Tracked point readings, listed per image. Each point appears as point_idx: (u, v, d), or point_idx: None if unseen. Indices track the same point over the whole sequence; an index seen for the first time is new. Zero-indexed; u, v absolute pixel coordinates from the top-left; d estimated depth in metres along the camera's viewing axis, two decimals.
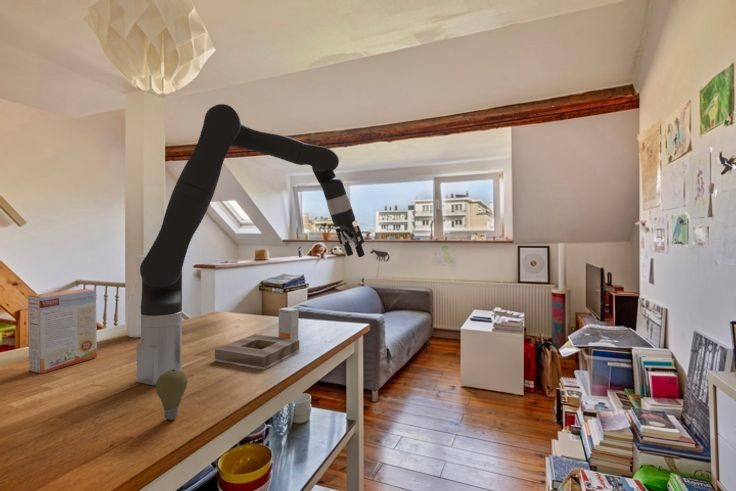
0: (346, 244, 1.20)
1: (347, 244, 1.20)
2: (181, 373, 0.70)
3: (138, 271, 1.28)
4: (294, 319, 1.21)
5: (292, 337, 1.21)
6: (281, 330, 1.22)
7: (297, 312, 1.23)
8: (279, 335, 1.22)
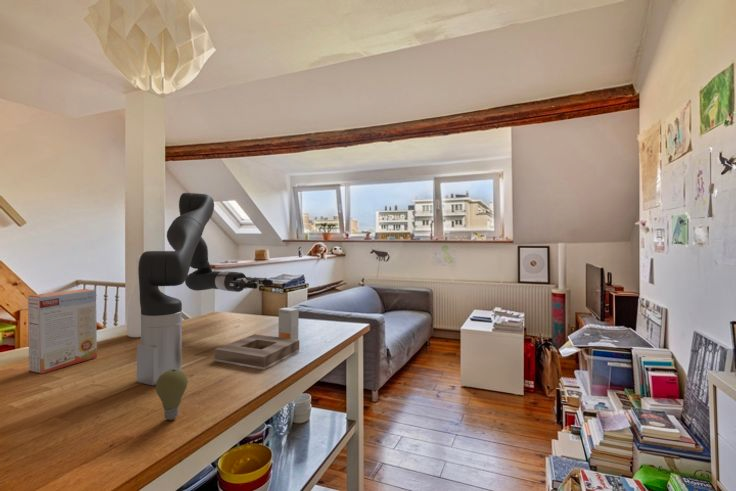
0: None
1: None
2: (181, 373, 0.70)
3: None
4: (294, 319, 1.21)
5: (292, 337, 1.21)
6: (282, 330, 1.22)
7: (297, 312, 1.23)
8: (279, 335, 1.22)
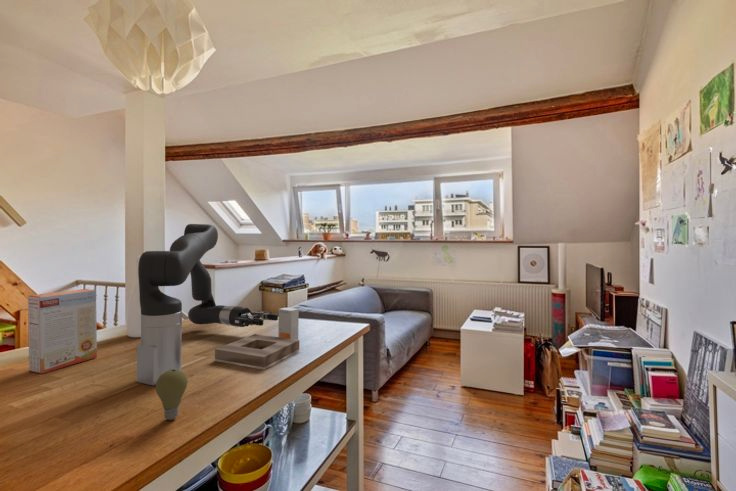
0: None
1: None
2: (181, 373, 0.70)
3: None
4: (294, 319, 1.21)
5: (292, 337, 1.21)
6: (281, 330, 1.22)
7: (297, 312, 1.23)
8: (279, 335, 1.22)
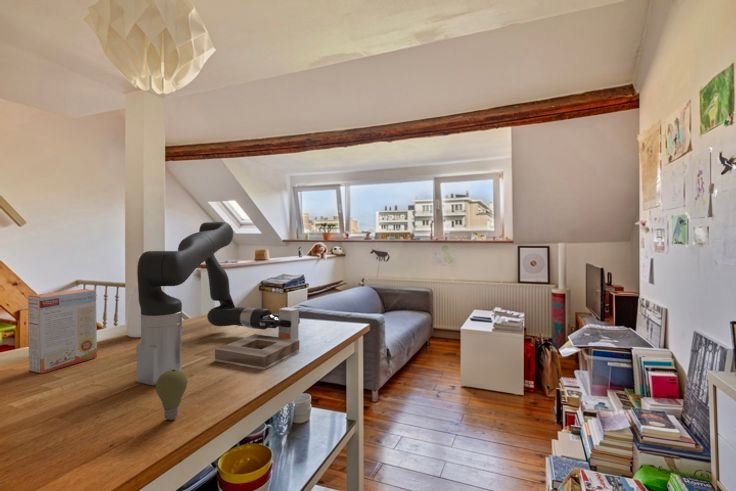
0: None
1: None
2: (181, 373, 0.70)
3: None
4: (294, 319, 1.21)
5: (293, 337, 1.21)
6: (282, 330, 1.22)
7: (297, 312, 1.23)
8: (279, 335, 1.22)
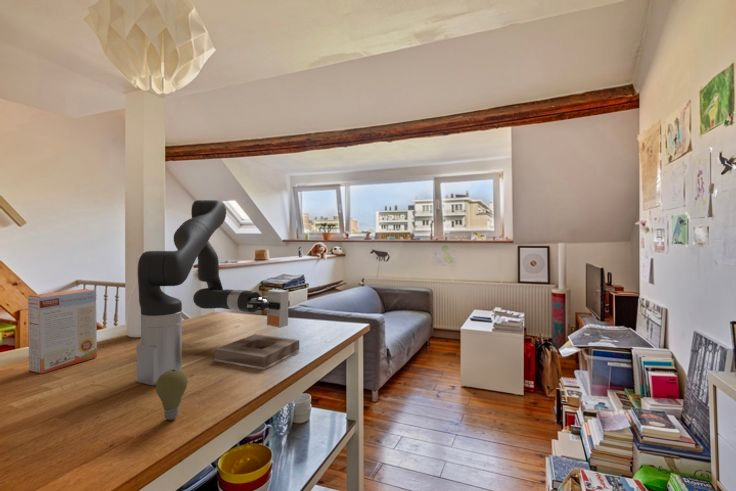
0: None
1: None
2: (181, 373, 0.70)
3: None
4: (283, 301, 1.15)
5: (282, 320, 1.14)
6: (270, 313, 1.15)
7: (287, 294, 1.16)
8: (268, 318, 1.16)
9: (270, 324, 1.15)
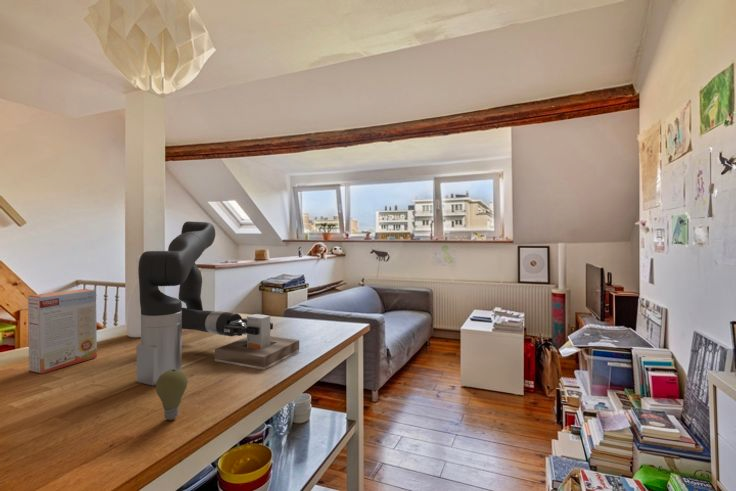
0: None
1: None
2: (181, 373, 0.70)
3: None
4: (265, 328, 1.06)
5: (263, 348, 1.06)
6: (251, 341, 1.07)
7: (268, 319, 1.08)
8: (248, 346, 1.07)
9: None
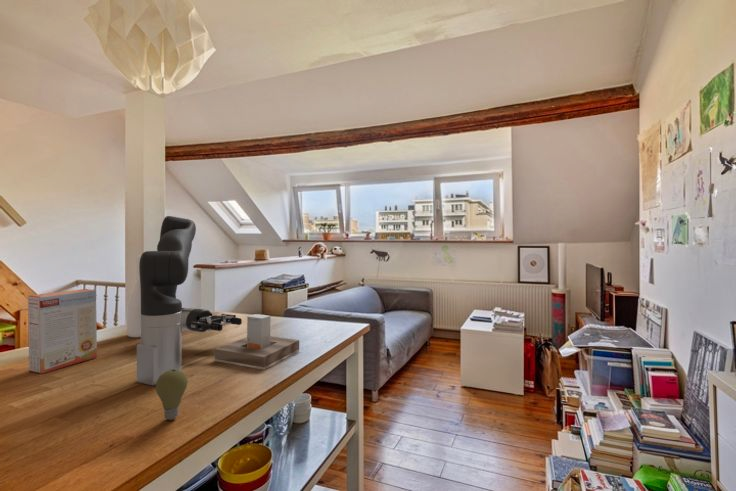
0: None
1: None
2: (181, 373, 0.70)
3: (138, 271, 1.28)
4: (265, 328, 1.06)
5: (263, 348, 1.06)
6: (251, 341, 1.07)
7: (269, 319, 1.08)
8: (248, 346, 1.07)
9: None
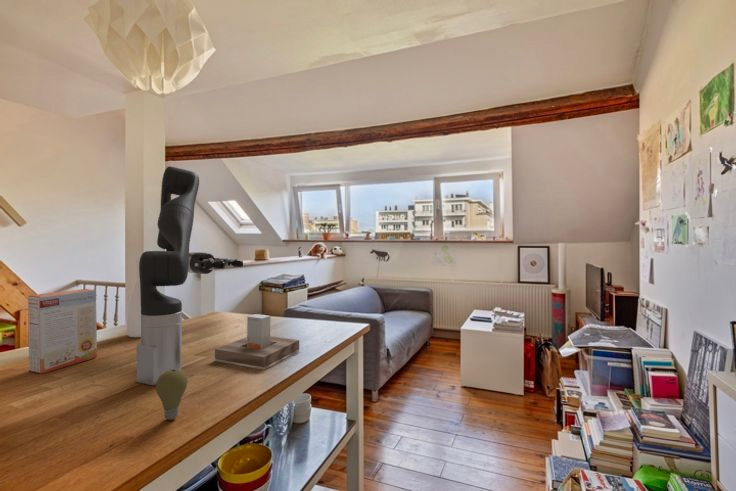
0: None
1: None
2: (181, 373, 0.70)
3: (138, 271, 1.28)
4: (265, 328, 1.06)
5: (263, 348, 1.06)
6: (251, 341, 1.07)
7: (269, 319, 1.08)
8: (248, 346, 1.07)
9: None
